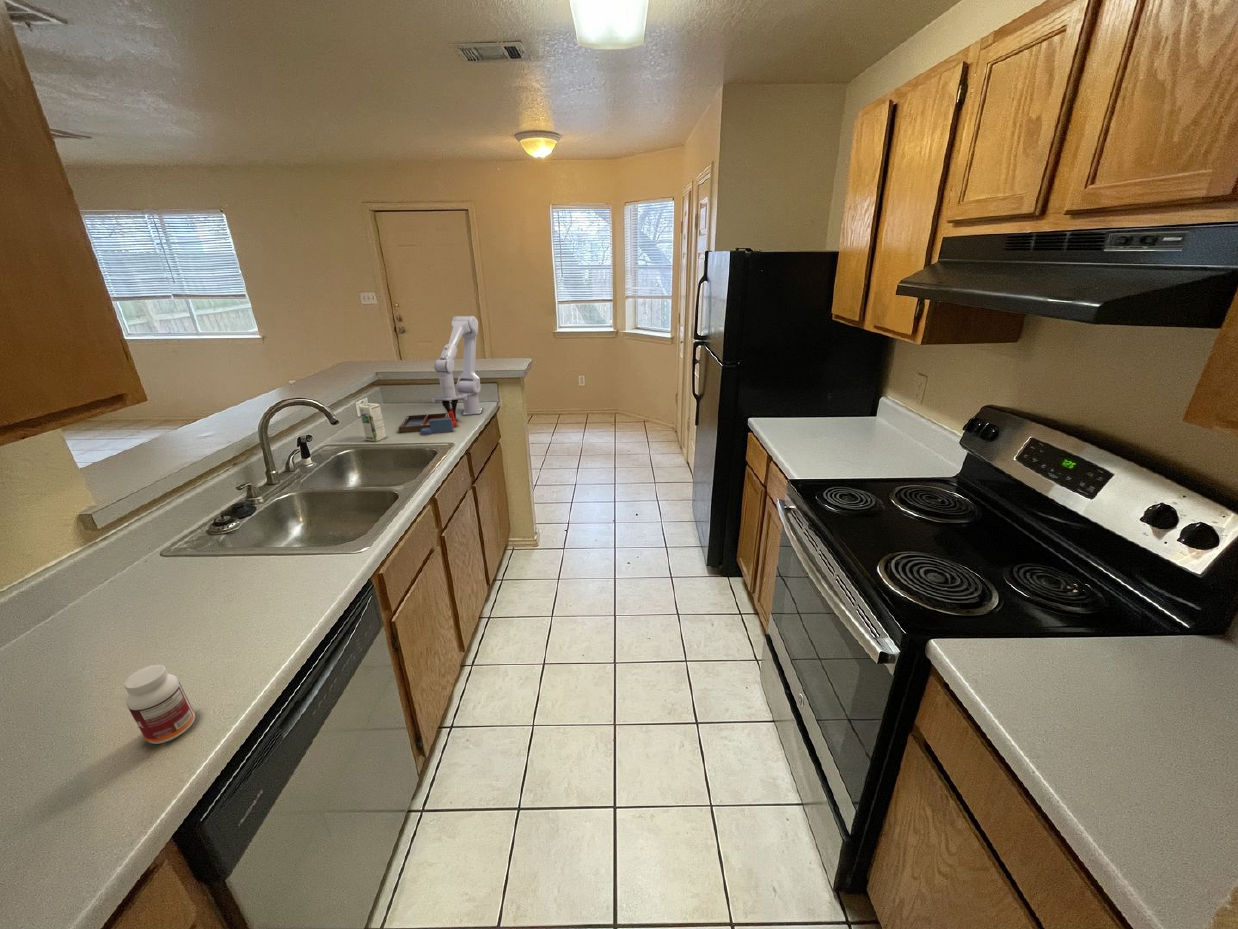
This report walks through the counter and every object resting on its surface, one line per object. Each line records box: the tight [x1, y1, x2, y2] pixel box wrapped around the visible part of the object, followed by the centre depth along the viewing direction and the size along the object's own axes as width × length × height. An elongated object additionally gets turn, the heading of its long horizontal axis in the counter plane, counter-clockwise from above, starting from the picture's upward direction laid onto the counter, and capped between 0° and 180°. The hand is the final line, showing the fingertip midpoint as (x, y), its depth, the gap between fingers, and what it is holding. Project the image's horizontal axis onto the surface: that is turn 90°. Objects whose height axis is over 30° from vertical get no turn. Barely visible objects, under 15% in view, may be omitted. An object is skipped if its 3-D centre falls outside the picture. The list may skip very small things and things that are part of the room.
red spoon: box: [447, 406, 458, 428], centre depth 224 cm, size 13×4×6 cm, turn 10°
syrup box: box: [358, 402, 387, 442], centre depth 206 cm, size 6×6×14 cm
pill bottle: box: [123, 664, 196, 745], centre depth 78 cm, size 6×6×11 cm
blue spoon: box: [420, 418, 454, 436], centre depth 213 cm, size 13×4×6 cm, turn 100°
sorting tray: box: [398, 412, 449, 434], centre depth 224 cm, size 17×18×2 cm
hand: (452, 416), depth 226 cm, fingers closed on red spoon
